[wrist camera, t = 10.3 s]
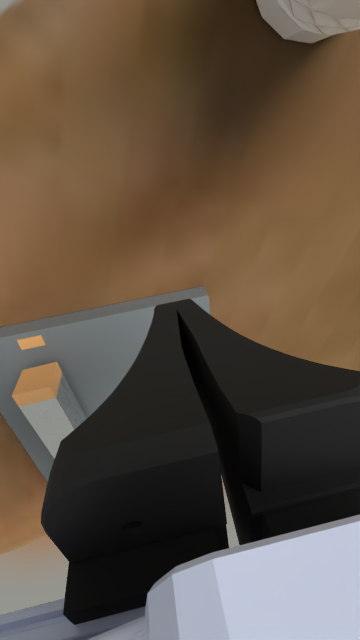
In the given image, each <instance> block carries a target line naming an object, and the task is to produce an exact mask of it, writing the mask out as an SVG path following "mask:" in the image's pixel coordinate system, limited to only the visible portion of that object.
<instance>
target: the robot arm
mask: <svg viewBox="0 0 360 640" xmlns="http://www.w3.org/2000/svg"><path fill="white" fill-rule="evenodd" d="M221 475H222V479H223V482H224V486H225V490H226V493H227V497H228V502H229V505H230V509H231V513H232V517H233V521H234V525H235V529H236V533H237V536H238V541H239V544H240V546H236V547H233V548H229V545H228V537H227V529H226V524H227V521H226V512H225V504H224V496H223V488H222V479H221ZM41 524H42V526H43V528H44V530H45V532H46V534H47V535H48V536H49V537H50V539H51V540H52V541H53V542H54V544H55V545H56V546H57V547H58V548H59V550H60V551H61V552H62V553H63V555H64V556H65V557H66V558H67V559H68V561H69V569H68V577H67V584H66V592H65V598H64V599H61V600H57V601H53V602H49V603H45V604H41V605H38V606H34V607H30V608H26V609H22V610H18V611H14V612H10V613H6V614H3V615H0V640H360V372H359V371H354V370H349V369H344V368H339V367H333V366H328V365H323V364H319V363H315V362H311V361H308V360H304V359H300V358H297V357H294V356H290V355H287V354H284V353H282V352H279V351H276V350H273V349H271V348H268V347H266V346H263V345H261V344H258V343H256V342H254V341H252V340H250V339H248V338H246V337H244V336H242V335H240V334H238V333H236V332H235V331H233V330H231V329H230V328H228V327H227V326H225V325H224V324H222V323H221V322H219V321H218V320H217V319H215V318H214V317H212V316H211V315H210V314H208V313H207V312H206V311H205V310H203V309H202V308H201V307H200V306H199V305H198V304H196V303H195V302H194V301H193V300H191V299H185V300H180V301H175V302H170V303H165V304H160V305H156V307H155V308H154V315H153V319H152V322H151V326H150V328H149V331H148V334H147V337H146V339H145V341H144V343H143V345H142V347H141V350H140V352H139V354H138V356H137V357H136V359H135V361H134V363H133V364H132V366H131V367H130V369H129V371H128V372H127V374H126V375H125V376H124V378H123V379H122V380H121V382H120V383H119V385H118V386H117V387H116V388H115V390H114V391H113V392H112V393H111V395H110V396H109V397H108V398H107V399H106V400H105V401H104V402H103V403H102V404H101V405H100V406H99V407H98V408H97V409H96V410H95V411H94V412H93V413H92V414H91V415H90V416H89V417H88V418H87V419H86V420H85V421H84V422H82V423H81V424H80V425H79V426H78V427H77V428H76V429H74V430H73V431H72V432H71V433H70V434H69V435H68V436H66V437H65V438H64V439H63V440H62V441H61V442H60V445H59V448H58V451H57V454H56V457H55V459H54V462H53V465H52V468H51V471H50V475H49V479H48V484H47V489H46V493H45V498H44V503H43V507H42V513H41Z"/></svg>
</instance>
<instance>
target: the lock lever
mask: <svg viewBox="0 0 360 640" xmlns="http://www.w3.org/2000/svg"><path fill="white" fill-rule="evenodd" d="M12 398H13V399H14V400H15V402H16V403H17V405H18V406H19V408H20V409H21V411H22V412H23V414H24V415H25V417H26V418H27V419H28V421H29V422H30V424H31V425H32V427H33V428H34V430H35V431H36V433H37V434H38V436H39V437H40V438H41V440H42V441H43V443H44V444H45V446H46V447H47V449H48V450H49V452H50V453H51V455H52V456H53V458H54V459H55V457H56V454H57V451H58V448H59V445H60V442H61V441H62V440H63V439H64V438H65V437H66V436H68V435H69V434H70V433H71V432H72V431H73V430H74V429H76V428H77V427H78V426H79V425H80V424H81V423H82V422H84V421H85V420H86V419H87V418H86V416H85V415H84V413H83V411H82V409H81V407H80V405H79V403H78V401H77V399H76V397H75V395H74V393H73V392H72V390H71V388H70V386H69V384H68V382H67V380H66V378H65V376H64V374H63V372H62V371H61V369H60V367H59V365H58V363H57V362H53V363H49V364H45V365H41V366H37V367H33V368H29V369H25V370H22V373H21V375H20V377H19V380H18V382H17V384H16V387H15V389H14V392H13V394H12Z"/></svg>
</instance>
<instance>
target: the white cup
mask: <svg viewBox="0 0 360 640" xmlns="http://www.w3.org/2000/svg"><path fill="white" fill-rule="evenodd" d="M256 2H257V5H258V8H259V11H260V14H261V16H262V18H263V19H264V20H265V21H266V22H267V23H268V24H269V25H270V26H271V27H272V28H273V29H274V30H275V31H276V32H277V33H278V34H279V35H280V36H281V37H282V38H283V39H287V40H293V41H298V42H304V43H314V42H317V41H319V40H322V39H325V38H327V37H330V36H332V35H335V34H338V33H346V32H352V31H356V30H359V29H360V0H256Z"/></svg>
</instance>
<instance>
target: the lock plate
mask: <svg viewBox="0 0 360 640" xmlns="http://www.w3.org/2000/svg"><path fill="white" fill-rule="evenodd" d="M185 299H191V300H193V301H194V302H195V303H196V304H198V305H199V306H200V307H201V308H202V309H203V310H205V311H206V312H207V313H208V314H210V306H209V297H208V294H207V292H206V290H205V288H204V286H201V287H196V288H191V289H186V290H181V291H176V292H172V293H167V294H162V295H157V296H152V297H147V298H142V299H137V300H132V301H127V302H122V303H118V304H113V305H108V306H103V307H98V308H93V309H88V310H83V311H78V312H73V313H68V314H63V315H59V316H54V317H49V318H44V319H39V320H34V321H29V322H24V323H19V324H14V325H9V326H4V327H0V413H1V415H2V416H3V418H4V419H5V420H6V422H7V423H8V425H9V426H10V428H11V429H12V431H13V432H14V434H15V435H16V437H17V438H18V440H19V441H20V443H21V444H22V446H23V447H24V448H25V450H26V451H27V453H28V454H29V456H30V457H31V459H32V460H33V462H34V463H35V465H36V466H37V468H38V469H39V471H40V472H41V474H42V475H43V476H44V478H45V479H46V481H47V482H48V479H49V475H50V471H51V468H52V465H53V462H54V458H53V456H52V455H51V453H50V452H49V450H48V449H47V447H46V446H45V444H44V443H43V441H42V440H41V438H40V437H39V436H38V434H37V433H36V431H35V430H34V428H33V427H32V425H31V424H30V422H29V421H28V419H27V418H26V417H25V415H24V414H23V412H22V411H21V409H20V408H19V406H18V405H17V403H16V402H15V400H14V399H13V398H12V394H13V392H14V389H15V387H16V384H17V382H18V380H19V377H20V375H21V373H22V370H25V369H29V368H33V367H37V366H41V365H45V364H49V363H53V362H57V363H58V365H59V367H60V369H61V371H62V372H63V374H64V376H65V378H66V380H67V382H68V384H69V386H70V388H71V390H72V392H73V393H74V395H75V397H76V399H77V401H78V403H79V405H80V407H81V409H82V411H83V413H84V415H85V416H86V418H88V417H89V416H90V415H91V414H92V413H93V412H94V411H95V410H96V409H97V408H98V407H99V406H100V405H101V404H102V403H103V402H104V401H105V400H106V399H107V398H108V397H109V396H110V395H111V393H112V392H113V391H114V390H115V388H116V387H117V386H118V385H119V383H120V382H121V380H122V379H123V378H124V376H125V375H126V374H127V372H128V371H129V369H130V367H131V366H132V364H133V363H134V361H135V359H136V357H137V356H138V354H139V352H140V350H141V347H142V345H143V343H144V341H145V339H146V337H147V334H148V331H149V328H150V326H151V322H152V319H153V315H154V308H155V307H156V305H160V304H165V303H170V302H175V301H180V300H185Z"/></svg>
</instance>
